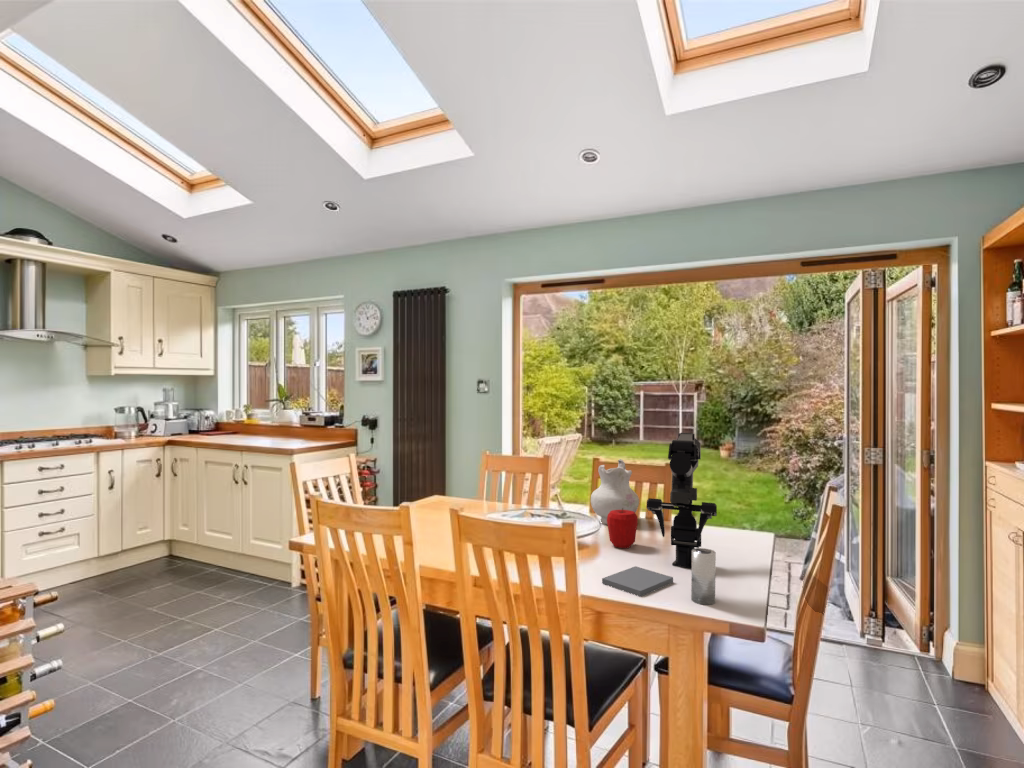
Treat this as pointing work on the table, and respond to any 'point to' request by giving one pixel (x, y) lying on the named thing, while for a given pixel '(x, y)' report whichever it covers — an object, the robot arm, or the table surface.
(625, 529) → the apple
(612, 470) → the ceramic pitcher
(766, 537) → the table surface
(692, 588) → the silver metal cylinder
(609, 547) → the table surface
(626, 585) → the base plate
